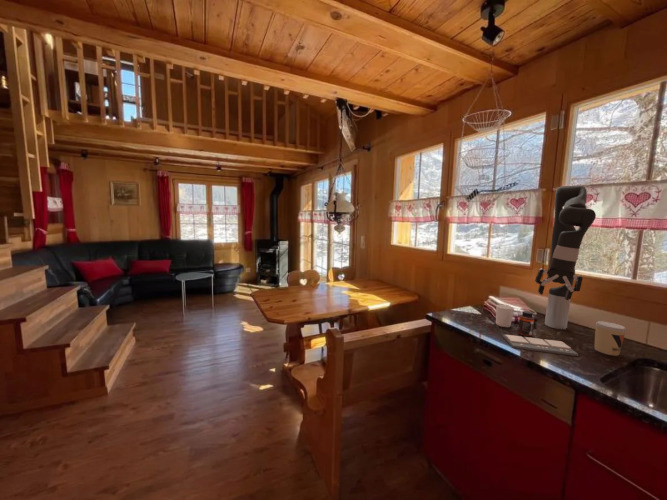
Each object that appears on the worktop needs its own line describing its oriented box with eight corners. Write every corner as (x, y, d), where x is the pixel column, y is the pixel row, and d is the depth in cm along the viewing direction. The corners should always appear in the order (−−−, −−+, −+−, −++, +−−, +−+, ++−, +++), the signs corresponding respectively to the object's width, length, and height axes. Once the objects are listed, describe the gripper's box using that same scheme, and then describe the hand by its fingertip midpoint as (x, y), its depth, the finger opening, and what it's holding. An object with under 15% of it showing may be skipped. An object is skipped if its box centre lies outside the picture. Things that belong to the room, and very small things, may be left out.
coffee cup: (615, 358, 115) (619, 330, 113) (587, 348, 123) (591, 322, 122) (626, 354, 118) (630, 327, 117) (598, 345, 127) (602, 319, 126)
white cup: (495, 321, 153) (497, 303, 152) (512, 324, 149) (514, 306, 148) (493, 325, 147) (495, 306, 146) (511, 329, 142) (513, 310, 141)
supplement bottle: (534, 337, 132) (537, 314, 131) (520, 336, 133) (523, 313, 132) (528, 332, 138) (531, 310, 137) (515, 331, 139) (518, 309, 138)
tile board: (502, 336, 132) (503, 333, 131) (561, 344, 126) (561, 340, 126) (512, 347, 120) (513, 344, 120) (577, 356, 115) (578, 352, 114)
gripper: (584, 260, 110) (572, 299, 113) (540, 253, 117) (530, 290, 120) (590, 263, 104) (578, 304, 107) (544, 255, 110) (534, 294, 113)
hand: (553, 296), depth 113 cm, fingers open, 8 cm apart
